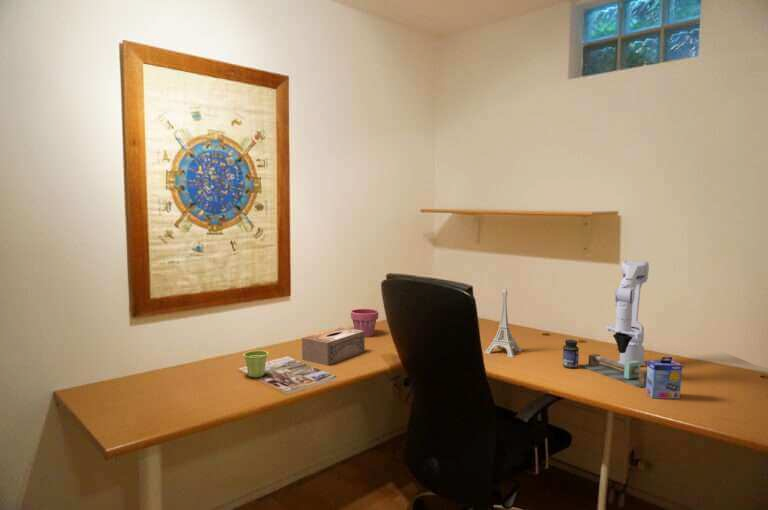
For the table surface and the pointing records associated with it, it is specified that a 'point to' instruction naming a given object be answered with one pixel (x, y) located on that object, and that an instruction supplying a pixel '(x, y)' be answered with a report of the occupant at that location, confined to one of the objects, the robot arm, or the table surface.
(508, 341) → the eiffel tower
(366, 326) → the plant pot
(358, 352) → the tissue box cover
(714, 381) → the table surface
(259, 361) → the plant pot
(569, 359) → the pill bottle
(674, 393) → the ink cartridge box
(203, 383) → the table surface
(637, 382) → the rail stand
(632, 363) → the collar
